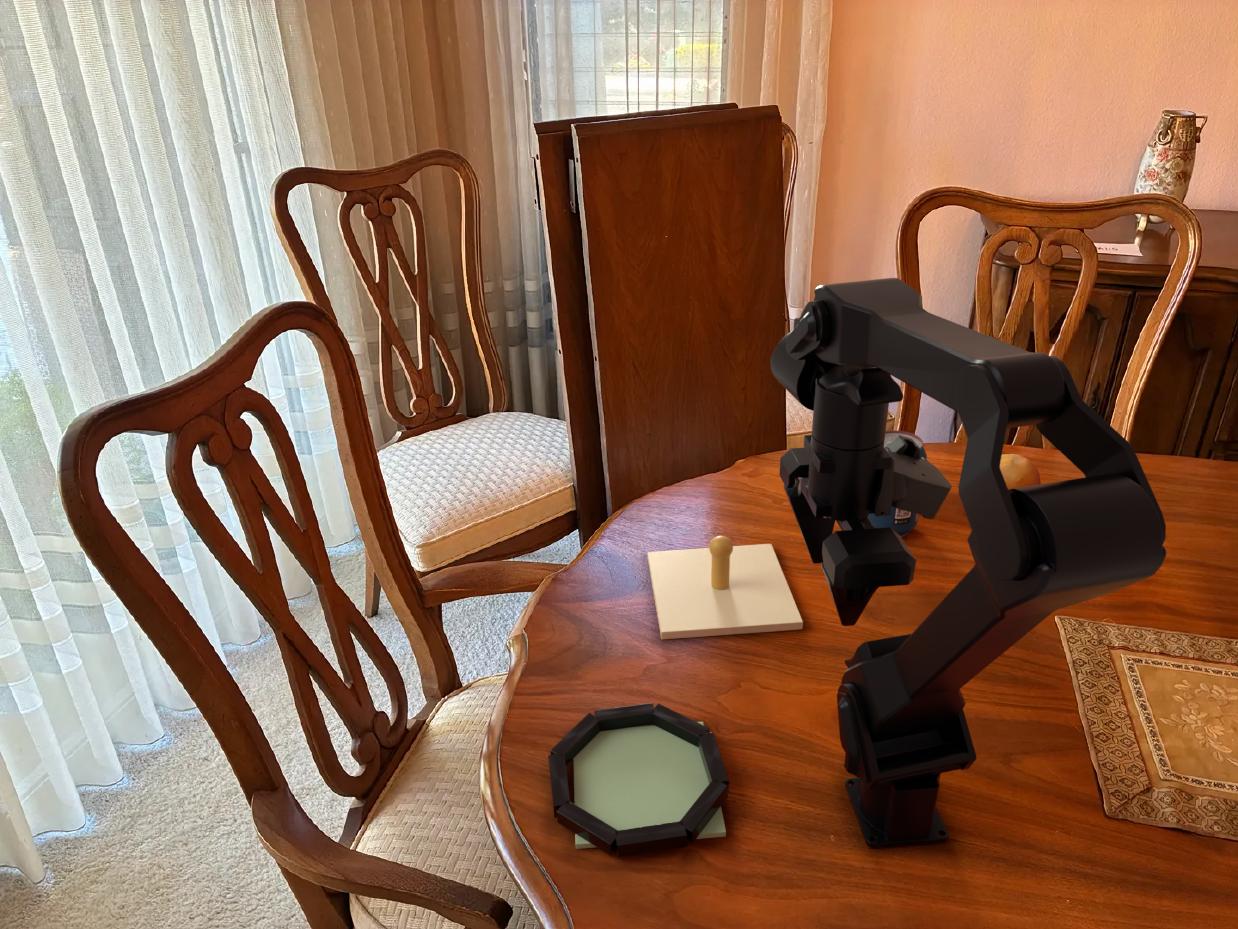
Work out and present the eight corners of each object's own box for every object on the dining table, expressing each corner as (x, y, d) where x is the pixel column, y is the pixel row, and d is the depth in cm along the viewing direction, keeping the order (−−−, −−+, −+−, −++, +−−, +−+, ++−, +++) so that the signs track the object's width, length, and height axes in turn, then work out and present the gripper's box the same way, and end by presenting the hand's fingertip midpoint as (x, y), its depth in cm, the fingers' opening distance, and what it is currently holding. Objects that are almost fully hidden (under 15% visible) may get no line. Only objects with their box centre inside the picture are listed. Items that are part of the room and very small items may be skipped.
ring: (743, 838, 67) (744, 826, 67) (559, 867, 66) (557, 855, 65) (701, 707, 80) (701, 695, 80) (545, 728, 79) (544, 716, 78)
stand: (802, 629, 90) (807, 572, 87) (661, 639, 90) (660, 583, 86) (770, 550, 104) (773, 498, 100) (647, 558, 103) (646, 506, 100)
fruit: (1060, 515, 105) (1034, 464, 103) (995, 538, 109) (969, 489, 106) (1045, 483, 112) (1020, 434, 110) (985, 506, 116) (960, 459, 113)
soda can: (849, 515, 110) (858, 431, 104) (900, 508, 111) (912, 425, 105) (872, 544, 104) (883, 457, 98) (926, 537, 105) (940, 450, 99)
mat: (726, 837, 68) (726, 832, 68) (575, 849, 68) (575, 844, 68) (703, 726, 79) (703, 721, 79) (573, 736, 78) (572, 731, 78)
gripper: (999, 485, 61) (965, 655, 68) (904, 384, 78) (885, 529, 85) (845, 495, 61) (827, 665, 68) (782, 391, 77) (774, 537, 84)
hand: (832, 592), depth 76 cm, fingers open, 9 cm apart
